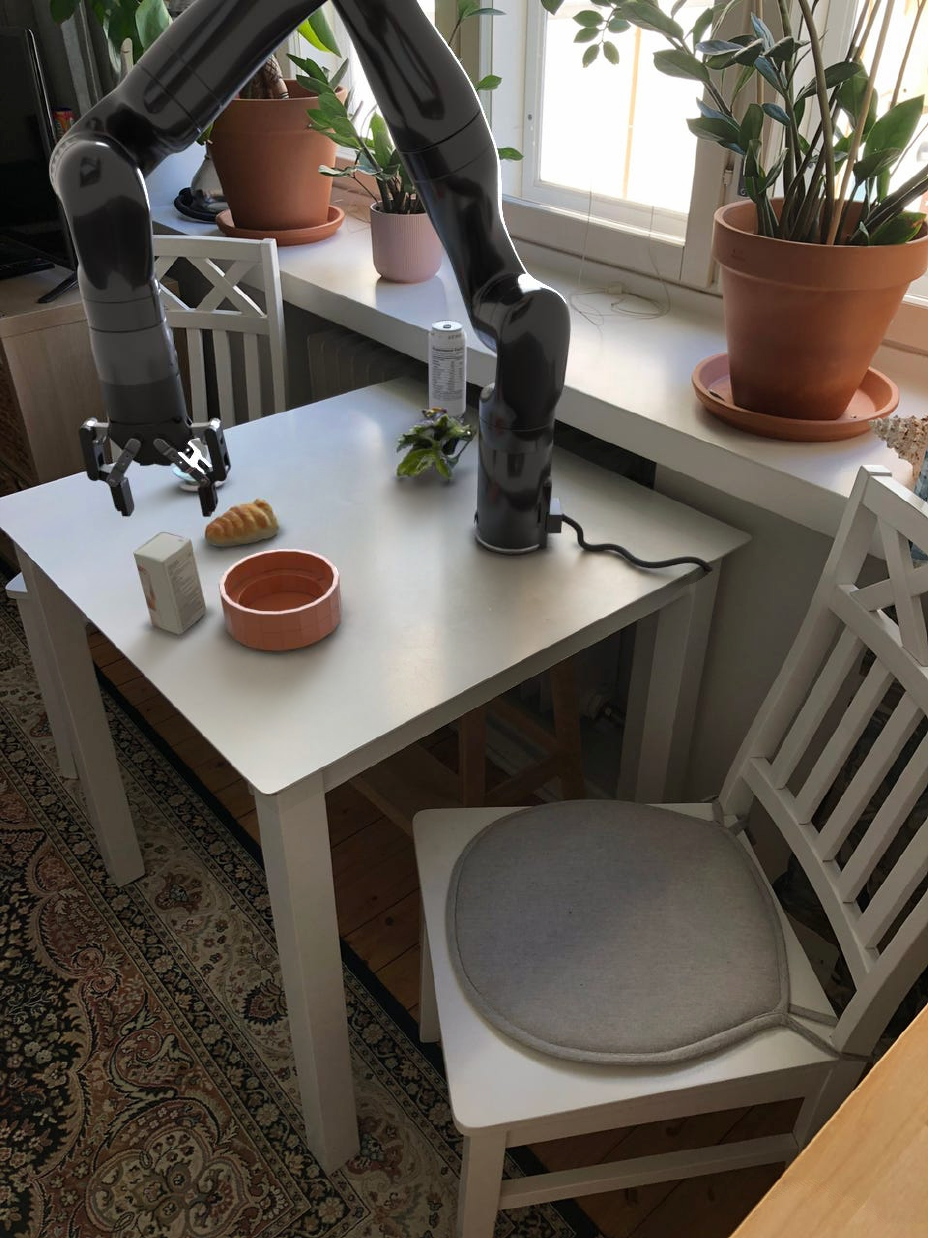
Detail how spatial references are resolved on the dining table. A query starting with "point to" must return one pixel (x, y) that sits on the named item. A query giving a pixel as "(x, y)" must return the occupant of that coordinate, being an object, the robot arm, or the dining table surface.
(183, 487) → the pacifier
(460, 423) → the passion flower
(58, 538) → the dining table surface
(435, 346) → the energy drink can
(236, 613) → the bowl
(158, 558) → the printed white carton
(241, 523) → the pastry
